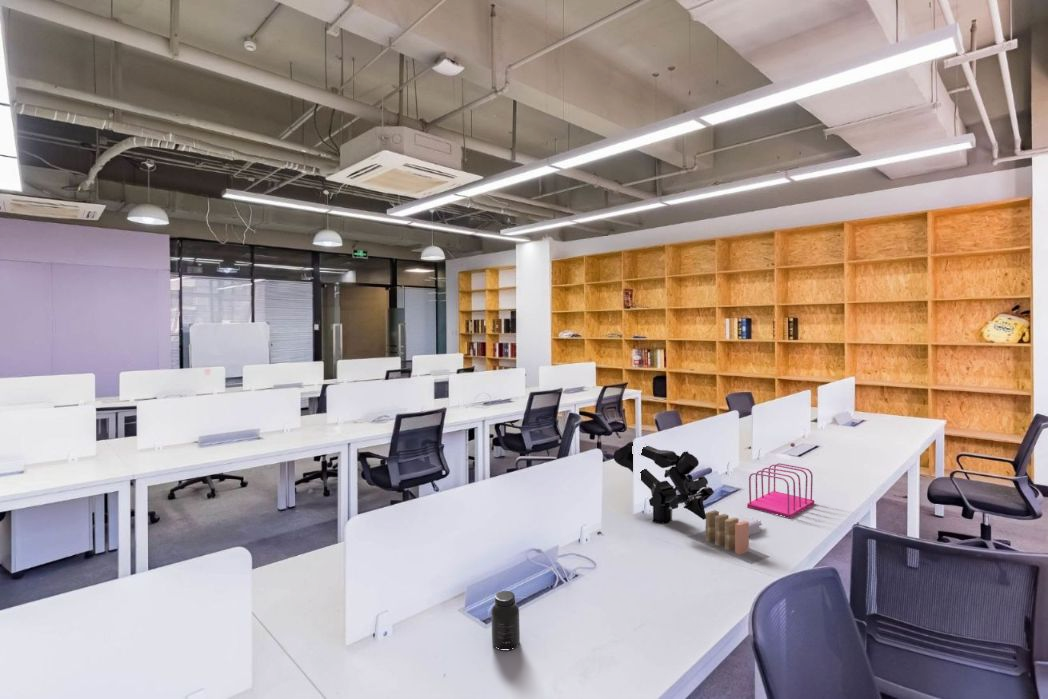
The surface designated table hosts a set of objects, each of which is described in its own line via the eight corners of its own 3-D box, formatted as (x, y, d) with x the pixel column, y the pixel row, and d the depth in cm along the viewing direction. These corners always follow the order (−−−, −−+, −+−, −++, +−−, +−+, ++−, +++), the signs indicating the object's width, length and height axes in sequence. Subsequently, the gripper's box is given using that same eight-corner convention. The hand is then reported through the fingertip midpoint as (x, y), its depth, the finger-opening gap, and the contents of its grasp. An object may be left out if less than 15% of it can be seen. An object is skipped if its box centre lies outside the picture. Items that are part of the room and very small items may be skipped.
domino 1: (705, 540, 185) (705, 513, 184) (715, 537, 187) (715, 510, 187) (709, 542, 183) (709, 514, 183) (718, 539, 186) (718, 511, 185)
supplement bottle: (491, 635, 131) (490, 589, 130) (518, 634, 131) (518, 587, 131) (492, 652, 124) (491, 603, 123) (520, 651, 124) (520, 601, 124)
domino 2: (715, 544, 181) (715, 516, 181) (724, 541, 184) (724, 513, 183) (718, 546, 180) (719, 517, 179) (728, 543, 182) (728, 515, 182)
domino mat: (687, 538, 189) (687, 536, 189) (705, 532, 194) (705, 530, 194) (751, 565, 166) (751, 564, 166) (770, 558, 172) (770, 556, 172)
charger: (769, 530, 195) (743, 539, 187) (748, 522, 203) (722, 531, 195) (769, 518, 195) (743, 526, 187) (748, 510, 203) (722, 518, 195)
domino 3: (724, 548, 178) (724, 520, 177) (734, 545, 180) (734, 517, 180) (728, 550, 176) (728, 521, 176) (738, 547, 179) (738, 518, 178)
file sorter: (746, 507, 219) (747, 471, 218) (773, 494, 235) (773, 460, 235) (789, 519, 206) (790, 479, 205) (814, 504, 222) (815, 467, 222)
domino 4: (734, 553, 174) (735, 523, 174) (744, 549, 177) (744, 520, 176) (739, 554, 173) (739, 525, 172) (748, 551, 176) (748, 522, 175)
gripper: (675, 473, 187) (700, 513, 178) (710, 465, 196) (735, 502, 187) (659, 489, 194) (682, 528, 185) (693, 481, 203) (717, 517, 194)
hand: (705, 518), depth 188 cm, fingers closed
